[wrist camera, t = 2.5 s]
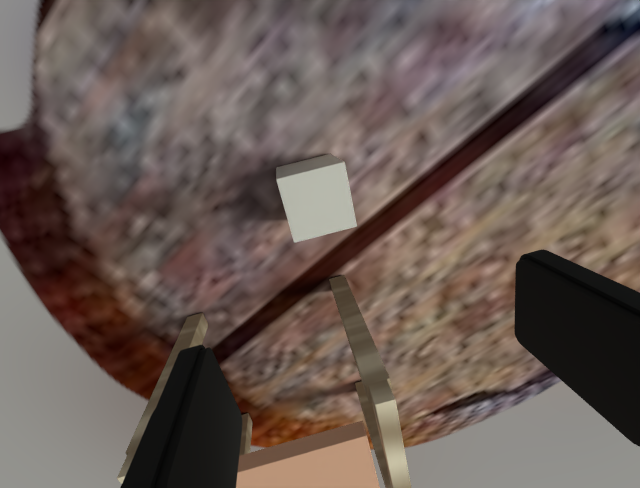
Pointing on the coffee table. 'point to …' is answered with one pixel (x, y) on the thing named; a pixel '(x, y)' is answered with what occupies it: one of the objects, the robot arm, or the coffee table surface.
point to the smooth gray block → (316, 197)
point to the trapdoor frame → (370, 390)
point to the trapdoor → (312, 462)
